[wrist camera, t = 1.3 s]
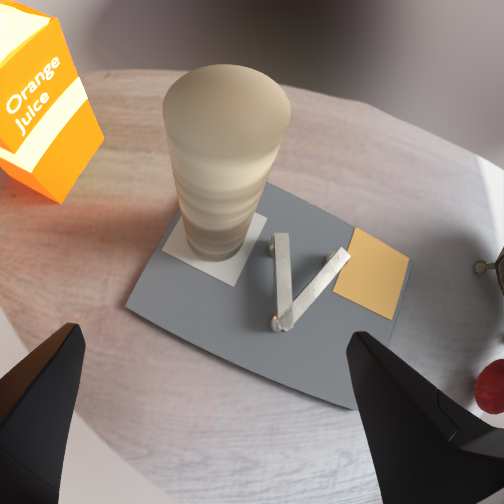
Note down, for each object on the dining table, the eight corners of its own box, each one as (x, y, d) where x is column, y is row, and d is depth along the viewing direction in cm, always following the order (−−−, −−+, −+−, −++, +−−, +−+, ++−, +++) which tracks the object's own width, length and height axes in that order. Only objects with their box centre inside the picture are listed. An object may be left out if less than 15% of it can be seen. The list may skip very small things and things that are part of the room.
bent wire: (305, 346, 22) (317, 347, 19) (233, 312, 21) (236, 310, 19) (340, 259, 24) (353, 251, 21) (274, 226, 24) (282, 214, 21)
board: (355, 409, 22) (361, 412, 20) (128, 307, 21) (124, 306, 20) (406, 263, 26) (413, 260, 25) (211, 162, 26) (212, 155, 24)
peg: (228, 272, 22) (259, 176, 9) (175, 245, 22) (136, 124, 9) (254, 222, 23) (307, 92, 10) (203, 197, 23) (204, 53, 10)
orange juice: (50, 118, 25) (-18, -24, 6) (106, 138, 25) (43, -48, 6) (8, 177, 22) (-97, 50, 3) (60, 206, 23) (-72, 42, 4)
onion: (469, 420, 22) (521, 429, 15) (453, 387, 23) (511, 391, 15) (494, 383, 24) (545, 383, 16) (481, 349, 25) (535, 344, 17)
